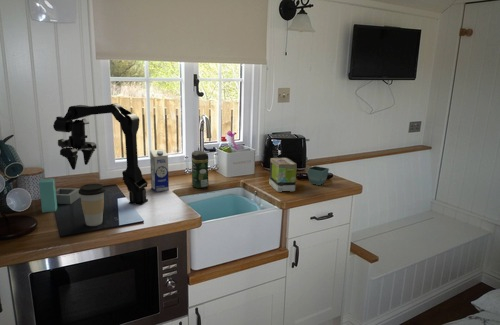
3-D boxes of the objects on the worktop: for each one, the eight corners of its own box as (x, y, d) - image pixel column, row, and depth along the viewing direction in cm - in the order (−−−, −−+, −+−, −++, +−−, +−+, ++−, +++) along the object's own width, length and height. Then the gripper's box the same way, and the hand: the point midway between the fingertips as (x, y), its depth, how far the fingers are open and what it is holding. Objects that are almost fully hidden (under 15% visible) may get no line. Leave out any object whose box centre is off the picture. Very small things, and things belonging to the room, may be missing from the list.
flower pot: (313, 181, 211) (314, 165, 209) (328, 184, 206) (329, 168, 204) (306, 184, 204) (307, 168, 202) (321, 187, 199) (322, 171, 197)
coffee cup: (86, 218, 150) (83, 182, 146) (110, 218, 151) (107, 182, 147) (77, 228, 141) (74, 190, 137) (103, 228, 142) (100, 190, 138)
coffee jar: (190, 183, 199) (189, 149, 195) (204, 182, 202) (204, 148, 198) (195, 189, 191) (195, 153, 186) (210, 187, 194) (210, 152, 190)
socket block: (80, 196, 175) (80, 188, 174) (70, 204, 165) (69, 195, 164) (59, 196, 175) (58, 187, 174) (47, 203, 165) (47, 194, 164)
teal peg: (57, 207, 161) (54, 178, 158) (55, 211, 156) (52, 181, 153) (44, 208, 159) (41, 179, 156) (42, 212, 155) (38, 182, 152)
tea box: (295, 191, 192) (297, 163, 188) (277, 192, 189) (278, 164, 186) (286, 183, 206) (287, 156, 202) (268, 183, 203) (269, 157, 200)
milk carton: (164, 186, 193) (163, 148, 188) (169, 190, 188) (168, 151, 183) (151, 188, 190) (149, 150, 185) (155, 192, 184) (154, 152, 179)
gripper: (75, 128, 178) (76, 160, 182) (47, 135, 160) (50, 170, 164) (96, 131, 176) (97, 163, 180) (71, 137, 158) (72, 173, 162)
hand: (79, 167), depth 171 cm, fingers open, 9 cm apart
